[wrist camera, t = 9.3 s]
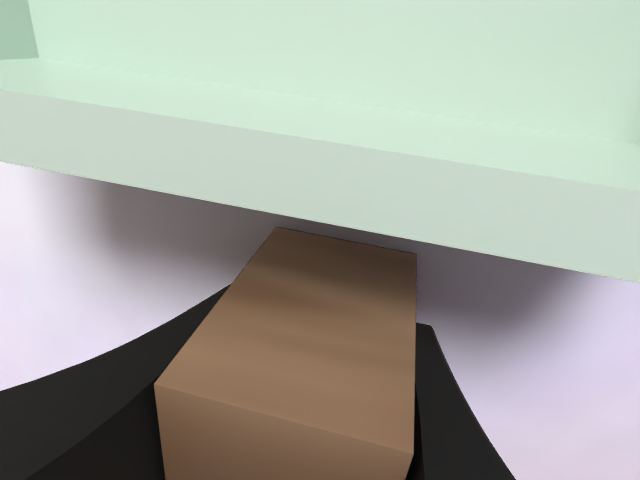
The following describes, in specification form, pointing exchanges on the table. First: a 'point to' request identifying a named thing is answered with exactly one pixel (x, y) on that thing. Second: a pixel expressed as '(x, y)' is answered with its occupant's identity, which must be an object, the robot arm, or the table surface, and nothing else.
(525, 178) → the pale green square tray
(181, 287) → the table surface
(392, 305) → the walnut block
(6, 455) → the robot arm
